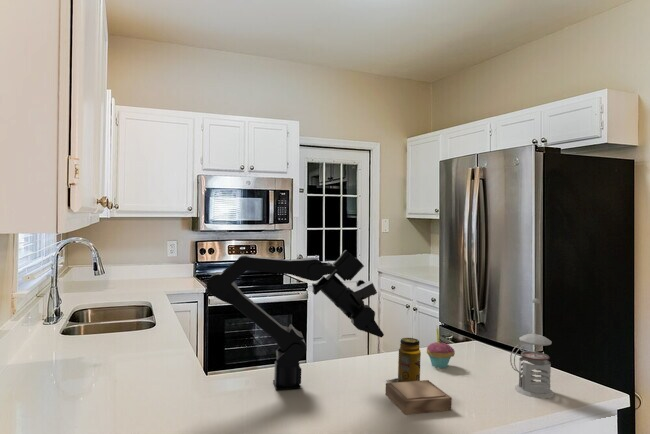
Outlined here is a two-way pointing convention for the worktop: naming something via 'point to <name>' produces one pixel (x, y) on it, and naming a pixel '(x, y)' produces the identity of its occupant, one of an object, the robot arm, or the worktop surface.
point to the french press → (534, 367)
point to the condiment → (408, 361)
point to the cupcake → (440, 353)
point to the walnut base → (418, 397)
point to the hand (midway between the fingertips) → (378, 331)
